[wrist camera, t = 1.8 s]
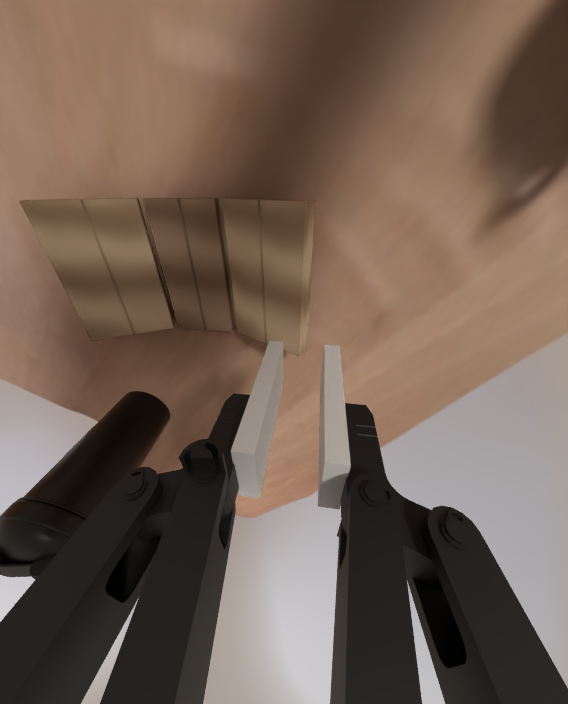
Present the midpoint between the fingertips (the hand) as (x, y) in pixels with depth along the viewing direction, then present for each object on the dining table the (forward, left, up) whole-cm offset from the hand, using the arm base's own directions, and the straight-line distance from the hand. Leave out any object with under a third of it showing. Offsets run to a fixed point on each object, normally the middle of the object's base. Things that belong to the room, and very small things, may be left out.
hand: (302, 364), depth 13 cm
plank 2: (0, -8, -16) cm, 19 cm away
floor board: (0, -13, -16) cm, 21 cm away
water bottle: (+25, -28, -17) cm, 41 cm away
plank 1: (0, -18, -16) cm, 24 cm away
